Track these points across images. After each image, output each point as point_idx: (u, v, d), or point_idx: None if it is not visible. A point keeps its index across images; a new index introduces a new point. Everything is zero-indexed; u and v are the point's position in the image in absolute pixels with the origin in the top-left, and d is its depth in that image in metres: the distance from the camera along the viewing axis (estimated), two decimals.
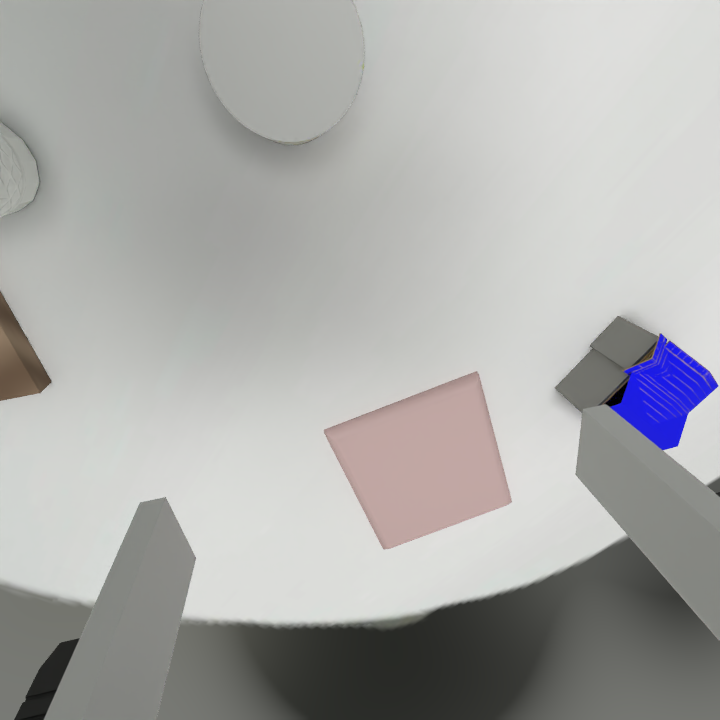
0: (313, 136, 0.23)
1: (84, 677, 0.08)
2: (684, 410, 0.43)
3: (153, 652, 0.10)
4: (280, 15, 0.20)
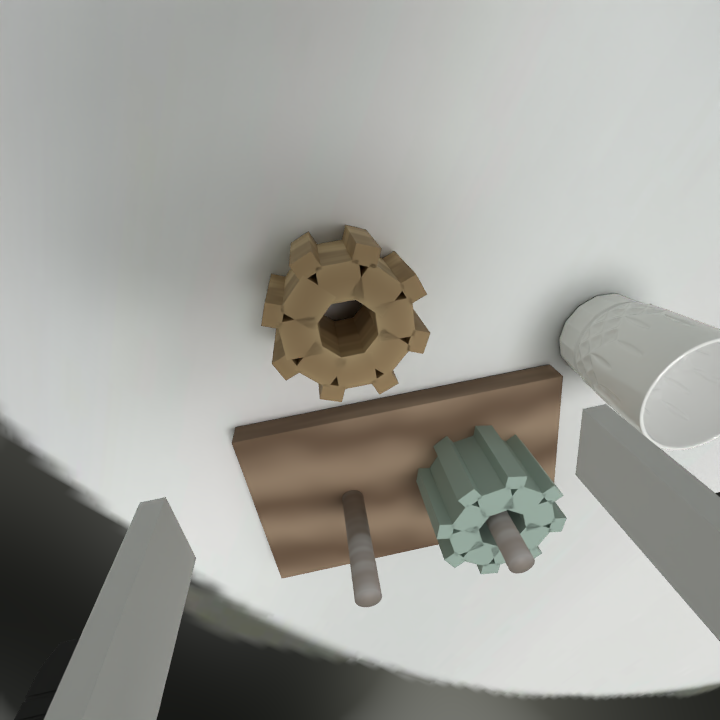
0: None
1: (84, 677, 0.08)
2: None
3: (153, 652, 0.10)
4: None
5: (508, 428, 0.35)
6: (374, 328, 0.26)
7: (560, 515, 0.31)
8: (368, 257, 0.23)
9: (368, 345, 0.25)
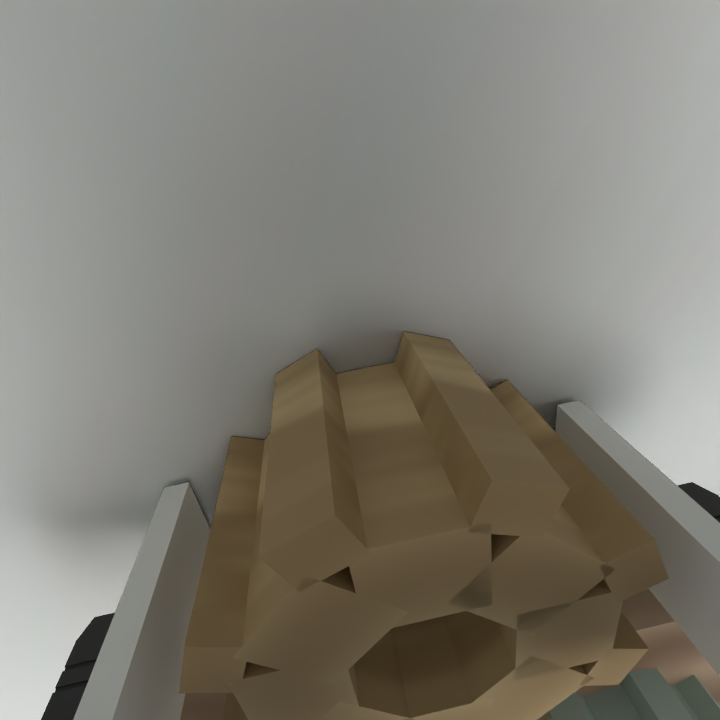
0: None
1: (123, 646, 0.09)
2: None
3: (182, 627, 0.11)
4: None
5: (684, 669, 0.19)
6: None
7: None
8: (524, 514, 0.07)
9: (481, 680, 0.09)
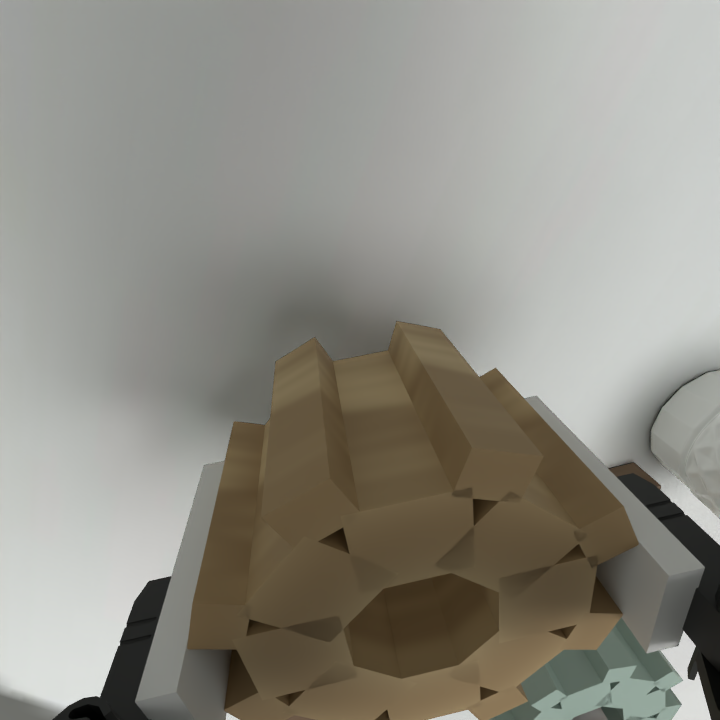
0: None
1: (183, 602, 0.09)
2: None
3: None
4: None
5: None
6: (476, 586, 0.11)
7: (671, 700, 0.21)
8: (503, 480, 0.08)
9: (468, 644, 0.10)
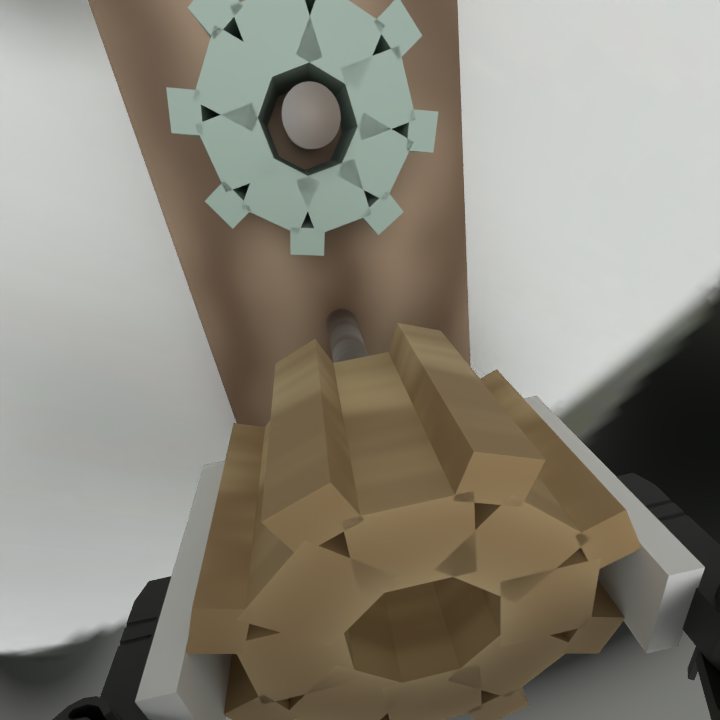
0: None
1: (184, 602, 0.09)
2: None
3: None
4: None
5: None
6: (477, 589, 0.11)
7: None
8: (504, 484, 0.08)
9: (469, 647, 0.10)
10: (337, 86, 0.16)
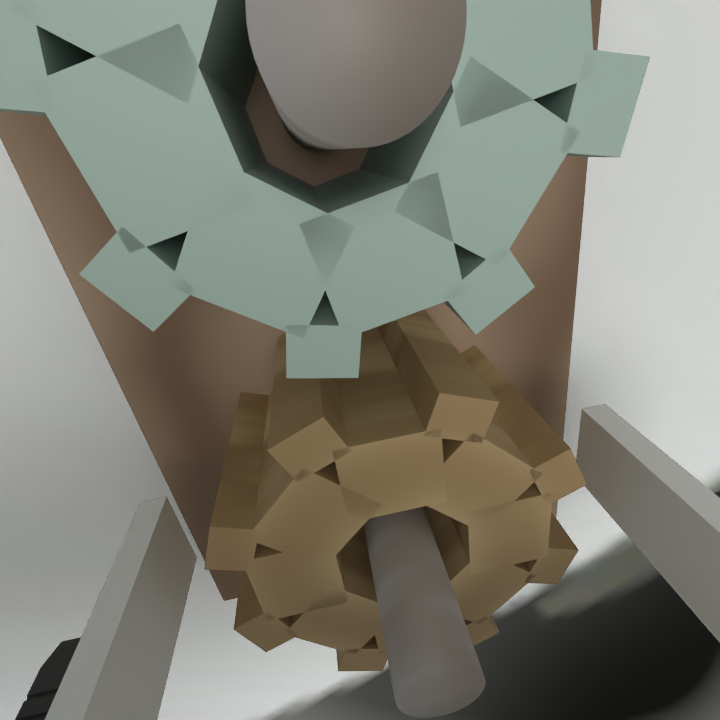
0: None
1: (85, 676, 0.08)
2: None
3: (154, 651, 0.10)
4: None
5: None
6: (453, 529, 0.12)
7: None
8: (466, 422, 0.09)
9: None
10: None
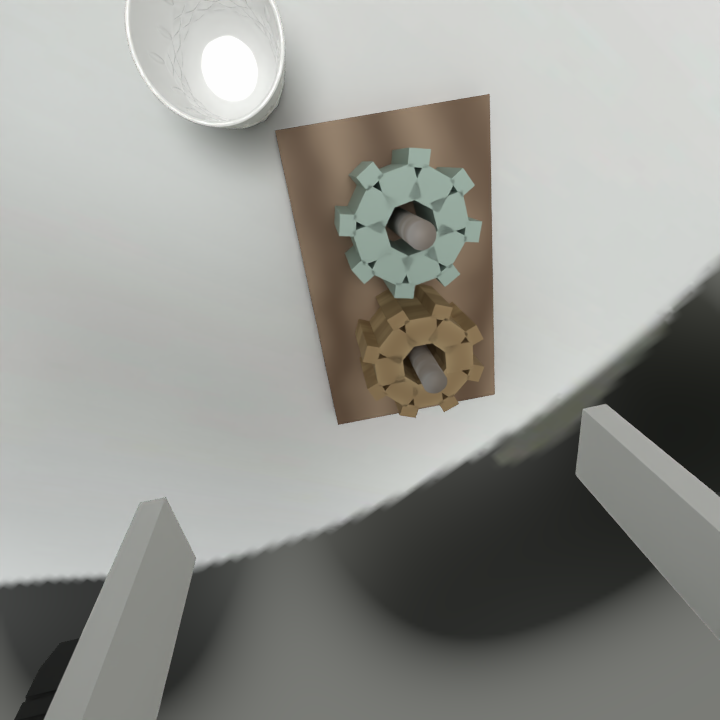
0: None
1: (84, 677, 0.08)
2: None
3: (153, 652, 0.10)
4: None
5: (340, 185, 0.33)
6: (441, 362, 0.35)
7: (408, 154, 0.27)
8: (443, 314, 0.32)
9: None
10: (425, 206, 0.29)
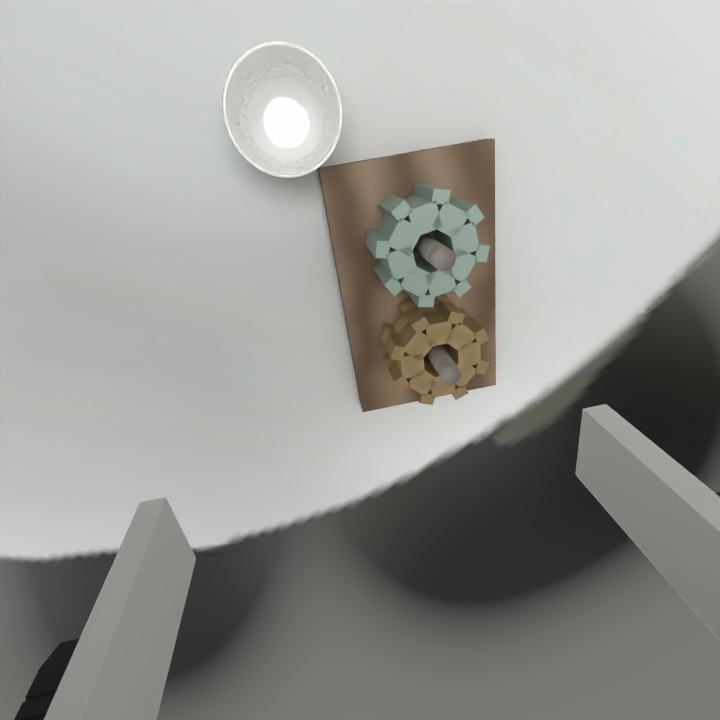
0: None
1: (84, 677, 0.08)
2: None
3: (153, 652, 0.10)
4: None
5: (371, 212, 0.39)
6: (454, 358, 0.42)
7: (432, 193, 0.34)
8: (457, 319, 0.39)
9: None
10: (443, 233, 0.36)
